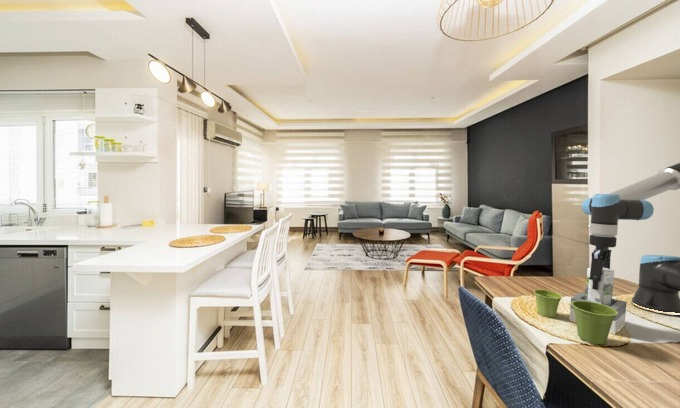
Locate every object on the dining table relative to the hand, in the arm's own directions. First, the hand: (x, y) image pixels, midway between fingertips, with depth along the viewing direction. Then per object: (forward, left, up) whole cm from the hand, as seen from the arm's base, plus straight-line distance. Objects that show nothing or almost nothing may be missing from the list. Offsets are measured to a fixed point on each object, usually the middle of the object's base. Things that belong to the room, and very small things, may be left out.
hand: (598, 295), depth 111 cm
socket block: (0, 0, -11) cm, 11 cm away
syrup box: (0, 0, -4) cm, 4 cm away
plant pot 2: (+10, +15, -11) cm, 21 cm away
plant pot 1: (+15, -4, -11) cm, 19 cm away
